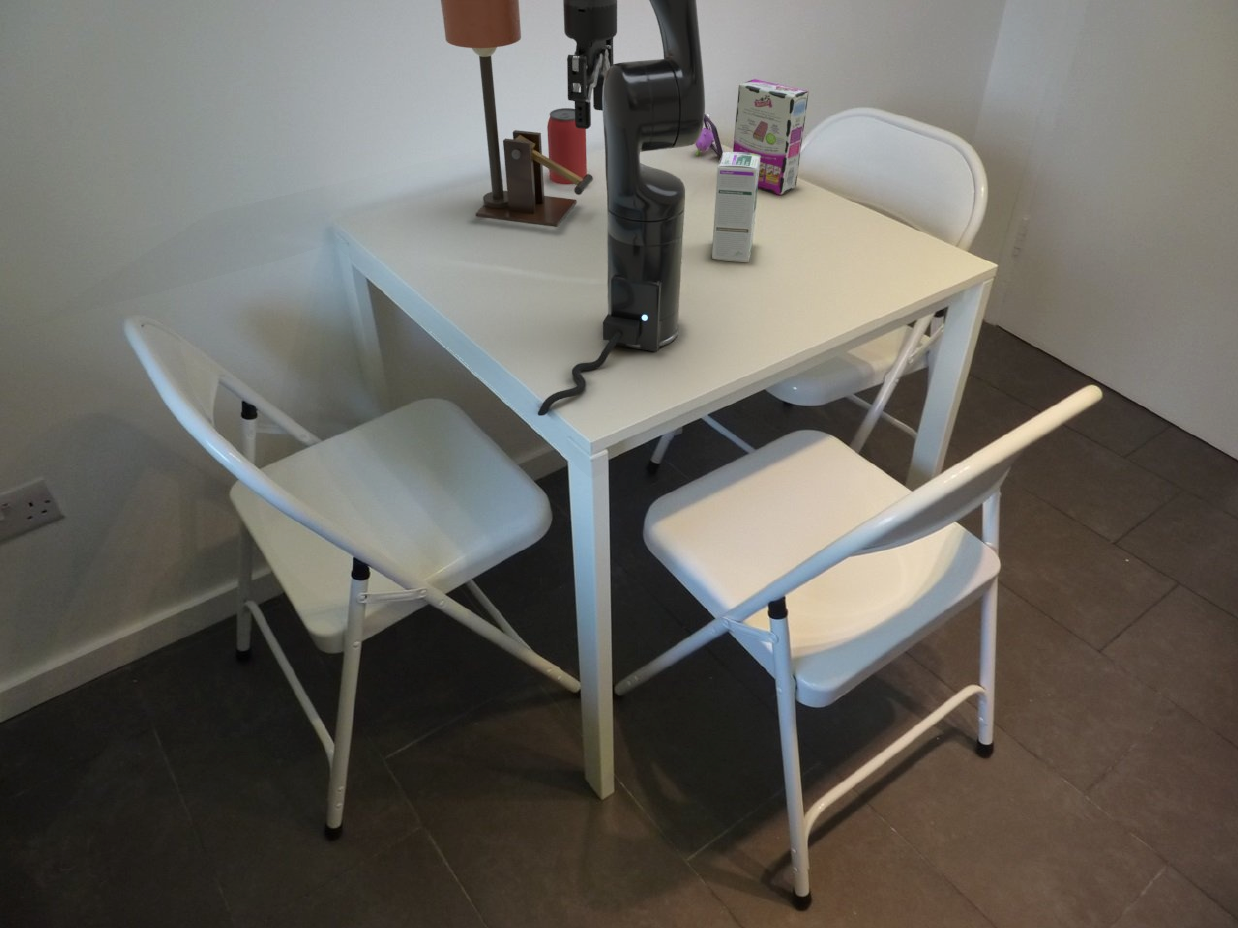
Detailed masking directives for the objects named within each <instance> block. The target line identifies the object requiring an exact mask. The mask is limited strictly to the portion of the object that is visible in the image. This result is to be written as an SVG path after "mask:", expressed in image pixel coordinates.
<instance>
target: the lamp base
mask: <svg viewBox="0 0 1238 928" xmlns="http://www.w3.org/2000/svg"><path fill="white" fill-rule="evenodd" d="M519 135H521V136H523V137H525V138H526V139H528V140H530V141H523V140H515V139H516V138H517V137H518V136H519ZM532 142H533V143H535V147H534V150H535V151H537V152H539V153H540V154H542V155H543V148H542V133H541V132H538V131H537V132H536V131H526V130H519V129H518V130H517V129H514V130H513V131H512V138H504V139H503V140H502V146H503V147H502V149H503V158H504V159H503V160H504V169H505V170H504V171H505V182H506V190H504V191H505V192H507V195H508V207H506V208H501V209H494V208H489V207H486V206H485V205H484V204H483V206H481V207H480V208H479V209H478V210H477V211H476V212H475V217H477V218H479V217H480V218H485V219H487V218H488V219H494V220H500V221H501V220H502V221H507V222H516V223H523V224H531V225H539V226H545V227H553V228H557V227H558V226H559V225H560V224H561V223H562V221H563V220H564V219H566V218H565V217H566V216H567V215H568V214H569V213H570V212H571V210H573V208H574V207H575V206H576V205H577V203H578V200H577V199H575V198H564V197H558V196H550V195H545V185H544V166H543V165H542V164H540V163H538V162H537V161H535V160H533V156H532Z"/></svg>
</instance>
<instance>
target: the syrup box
mask: <svg viewBox="0 0 1238 928" xmlns="http://www.w3.org/2000/svg"><path fill="white" fill-rule="evenodd" d="M759 167H760V155H759V154H753V153H745V152H733V151H723V154H722V156H721V158H720V159H719V161H718V164H717V167H716V169H717V172H716V187H715V201H714V213H713V215H714V216H713V232H712V247H711V249H712V250H711V258H712V259H713V260H717V261H725V262H734V263H735V262H736V263H749V261H750V259H751V254H752V248H753V241H754V233H755V232H754V230H755V223H756V222H755V220H756V210H757V201H758V200H757V199H758V189H759V188H758V178H759Z"/></svg>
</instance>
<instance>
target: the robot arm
mask: <svg viewBox="0 0 1238 928" xmlns="http://www.w3.org/2000/svg"><path fill="white" fill-rule="evenodd" d="M648 1H649V3H650V6H651V8H652V10H653V13H654V15H655V19H656V21H657V26H658V29H659V34H660V38H661V44H662V53H663V58H659V59H647V60H633V61H623V62H617V63H614V37H616V35H617V34H618V0H562V3H563V4H562V5H563V32H564V35H565V36H566V37H567V38H568V39H570V40H574V41H575V43H576V46H575V51H574V54H568V55H567V57H566V65H567V66H566V68H567V69H566V70H567V71H566V75H567V78H566V79H567V100H568V101H571V102H574V109H575V126H576V127H577V128H582V129H586V130H588V129H589V128H590V127H591V126H592V112H591V111H592V110H591V109H592V108H591V103H593V104H592V105H593V106H592V107H593V109H594V110H595V111H602V123H603V125H602V126H603V136H604V137H603V139H604V156H605V161H604V162H605V163H604V165H605V167H604V168H605V184H606V196H607V197H606V205H607V207H606V208H607V210H606V211H607V215H606V217H607V229H606V230H607V232H606V233H607V235H606V239H607V243H606V244H607V246H606V247H607V248H606V249H607V314H606V316H605V318H604V320H603V321H602V341H608V342H607V344H606V345H605V346H604V348H603V349H602V351H601V353H600V355H599V356H598V357H597V359H596V360H593V361H590V362H580V363H578V364H576V365H574V367H573V368H572V369H571V375H572V377H573V379H574V380H575V381H576V382H577V385H576V386H574V387H572V388H567V389H564V390H560V391H556V392H555V393H552V394H551V395H549V396H548V397H547V398H546V399H545V400H544V401H543V402H542V404H541V406H540V407H539V409H538V411H537V415H538V416H540V417H542V416H545V415H547V413H548V411H549V409H550V408H551V407H552V405H553V404H554V403H556V402H558V401H560V400H563V399H567V398H571V397H574V396H577V395H579V394H581V393H582V392H583V391H585V389H586V387H587V382H586V379H585V377H583V375H582V373H581V372H582V371H591V370H595V369H598V368H600V367H601V366H603V365H604V364H605V362H606V361H607V359H608V357H609V356H610V354H611V352H612V351H613V349H614V348H615V347H616V346H619V347H623V348H631V349H636V350H643V351H649V352H657V351H658V350H659V349H660V347H664V346H666V345H668V344H670V343H672V342H673V341H674V340H675V339H676V338H677V337H678V335H679V311H680V292H681V275H682V274H681V273H682V259H683V258H682V257H683V241H684V240H683V239H684V238H683V237H684V226H685V225H684V223H685V205H686V188H685V185H684V183H683V181H682V180H681V179H680V178H679V177H678V176H676V175H675V174H673V173H671V172H668V171H666V170H663V169H658V168H656V167H652V166H649V165H646V164H643V163H642V162H641V152H642V153H645V152H652V151H662V150H670V149H679V148H685V147H690V146H691V147H692V146H693V145H695V143H696V142H697V141H698V139H699V138H700V136H701V133H702V129H703V128H704V126H705V123H704V117H705V114H706V91H705V90H706V89H705V79H704V78H705V77H704V67H703V58H702V57H703V56H702V46H701V37H700V27H699V16H698V6H697V0H648ZM591 99H592V102H591ZM539 581H540V582H539V583H540V587H541V588H547V586H548V578H547V577H543V576H540V577H539Z"/></svg>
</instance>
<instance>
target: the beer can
mask: <svg viewBox="0 0 1238 928" xmlns="http://www.w3.org/2000/svg"><path fill="white" fill-rule="evenodd" d="M546 129H547V130H546V131H547V149H548V158H549V159H550V160H552V161H554V162H555V163H557V164H559V165H560V166H562V167H564V168H566V169H567V170H569V171H571V172H572V173H574V174H576V175H577V176H579V177H581V178H582V179H583V178H584V177H585V176H586V175H587V174H588V166H587V165H588V164H587V163H588V162H587V129H582V128H577V127H576V126H575V108H571V107H564V108H556V109H553V110H551V111H550V112H549V118H548V121H547V127H546ZM548 170H549V179H550V181H552V183H555V184H559V185H575V184H574V183H572V182H570V181H569V180H567V179H565V178H564V177H562V176H560V175H558V174H557V173H555V172H553V171H552V170H550V169H548Z"/></svg>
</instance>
